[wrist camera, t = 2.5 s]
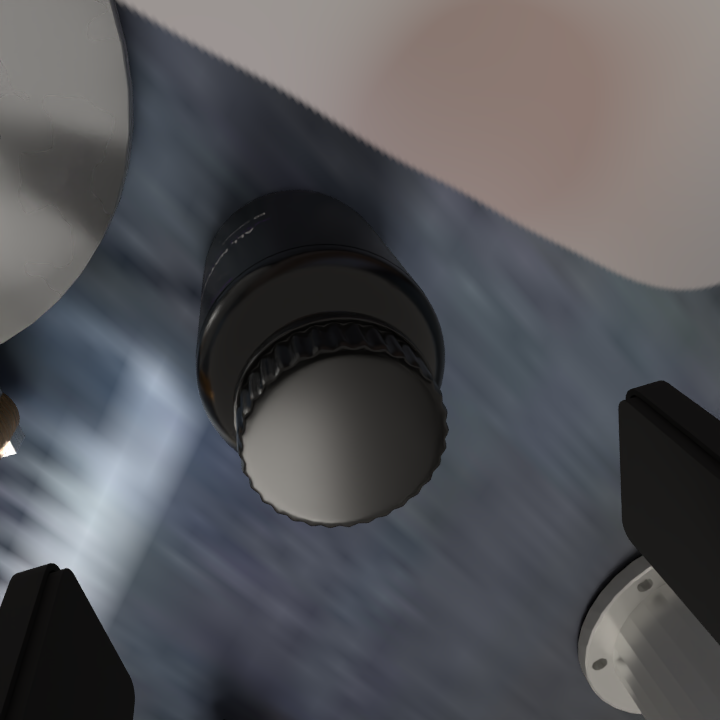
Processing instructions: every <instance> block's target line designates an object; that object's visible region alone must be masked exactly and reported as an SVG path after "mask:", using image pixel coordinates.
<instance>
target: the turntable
mask: <svg viewBox="0 0 720 720" xmlns="http://www.w3.org/2000/svg"><path fill="white" fill-rule="evenodd" d="M133 129H134V122H133V85H132V78H131V71H130V64H129V57H128V50H127V44H126V41H125V37H124V33H123V29H122V26H121V22H120V18H119V14H118V11H117V7H116V3H115V0H0V344H2V343H4V342H5V341H7V340H8V339H10V338H11V337H13V336H14V335H16V334H17V333H19V332H20V331H22V330H23V329H25V328H26V327H28V326H30V325H31V324H33V323H34V322H35V321H36V320H37V319H38V318H39V317H40V316H42V315H43V314H44V313H45V312H46V311H47V310H48V309H49V308H51V307H52V306H53V305H54V304H55V303H56V302H57V301H58V300H59V299H60V298H61V297H62V296H63V295H64V293H65V292H66V291H67V290H68V289H69V287H70V286H71V285H72V284H73V283H74V281H75V280H76V279H77V278H78V277H79V275H80V274H81V273H82V272H83V270H84V268H85V267H86V265H87V264H88V262H89V261H90V259H91V257H92V256H93V254H94V252H95V251H96V249H97V247H98V246H99V244H100V242H101V241H102V239H103V238H104V236H105V234H106V233H107V230H108V228H109V226H110V223H111V221H112V218H113V216H114V214H115V211H116V209H117V207H118V204H119V202H120V199H121V195H122V191H123V187H124V184H125V180H126V176H127V172H128V168H129V163H130V154H131V146H132V137H133ZM19 419H20V418H19V412H18V409H17V407H16V405H15V403H14V402H13V401H12V400H11V399H10V398H9V397H8V396H7V395H6V394H4V393H3V392H2V390H1V388H0V460H1V458H2V457H6V456H9V455H13V454H16V453H17V451H18V449H19V447H20V445H21V443H22V442H23V440H24V438H25V435H24V433H23V431H22V429H21V427H20V425H19Z"/></svg>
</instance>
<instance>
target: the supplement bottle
mask: <svg viewBox="0 0 720 720" xmlns="http://www.w3.org/2000/svg"><path fill="white" fill-rule="evenodd" d="M444 366H445V348H444V340H443V335H442V331H441V327H440V324H439V321H438V318H437V316H436V314H435V311H434V309H433V307H432V305H431V304H430V302H429V300H428V299H427V297H426V296H425V294H424V292H423V291H422V290H421V288H420V287H419V286H418V285H417V283H416V282H415V281H414V279H413V278H412V277H411V276H410V274H409V273H408V272H407V271H406V270H405V268H404V267H403V266H402V265H401V263H400V262H399V261H398V260H397V258H396V257H395V256H394V255H393V253H392V252H391V251H390V250H389V248H388V247H387V246H386V245H385V244H384V242H383V241H382V240H381V239H380V237H379V236H378V235H377V234H376V232H375V231H374V230H373V229H372V227H371V226H370V225H369V224H368V223H367V222H366V221H365V220H364V219H363V218H362V217H361V216H360V215H359V214H358V213H357V212H356V211H355V210H353V209H352V208H351V207H349V206H348V205H346V204H345V203H343V202H341V201H339V200H337V199H335V198H333V197H331V196H328V195H325V194H322V193H318V192H313V191H307V190H286V191H279V192H274V193H271V194H267V195H264V196H262V197H259V198H257V199H255V200H253V201H251V202H249V203H247V204H246V205H244V206H243V207H242V208H240V209H239V210H238V211H236V212H235V213H234V214H233V215H232V216H231V217H230V218H229V219H228V220H227V221H226V222H225V223H224V225H223V226H222V227H221V228H220V230H219V231H218V233H217V235H216V236H215V238H214V240H213V242H212V244H211V247H210V249H209V252H208V255H207V259H206V263H205V269H204V275H203V283H202V294H201V305H200V316H199V327H198V338H197V349H196V375H197V385H198V390H199V395H200V398H201V401H202V405H203V407H204V409H205V412H206V414H207V416H208V418H209V420H210V421H211V423H212V425H213V426H214V428H215V429H216V431H217V432H218V433H219V435H220V436H221V437H222V438H223V439H224V440H225V441H226V442H227V444H228V445H229V446H231V447H232V448H233V449H234V450H235V451H236V452H237V453H238V454H239V456H240V458H241V467H242V471H243V473H244V474H245V475H246V476H247V477H248V478H249V483H250V487H251V488H252V489H253V490H254V491H256V492H257V493H259V494H260V497H261V500H262V502H264V503H266V504H269V505H271V506H272V507H273V508H274V510H275V511H276V512H277V513H279V514H283V515H287V516H288V517H289V518H290V519H291V520H293V521H301V522H305V523H306V524H308V525H310V526H317V525H322V526H325V527H328V528H333V527H336V526H345V527H351V526H353V525H356V524H358V523H369V522H371V521H372V520H374V519H375V518H378V517H383V516H387V515H388V514H389V513H390V512H391V511H393V510H394V509H397V508H400V507H402V506H404V505H405V504H406V502H407V501H408V500H409V499H410V498H412V497H414V496H416V495H417V494H418V493H419V492H420V490H421V488H422V486H423V485H425V484H426V483H427V482H429V481H430V480H431V477H432V473H433V471H434V470H435V469H437V467H438V466H439V465H440V462H441V455H442V453H443V452H444V451H445V449H446V441H445V438H446V436H447V434H448V431H449V429H448V425H447V423H446V418H447V409H446V407H445V405H444V404H443V402H442V393H441V390H440V388H441V384H442V379H443V374H444Z"/></svg>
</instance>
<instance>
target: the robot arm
mask: <svg viewBox="0 0 720 720" xmlns="http://www.w3.org/2000/svg"><path fill="white" fill-rule="evenodd" d="M618 411H619V441H620V472H621V502H622V523H623V527H624V530H625V532H626V535H627V536H628V538H629V540H630V541H631V542H632V544H633V545H634V546H635V547H636V548H637V549H638V551H639V552H640V553H641V554H642V556H641V557H639V558H637V559H636V560H634V561H633V562H631V563H630V564H629V565H628V566H627V567H626V568H624V569H623V570H622V571H621V572H620V573H618V574H617V575H616V576H615V577H614V578H613V579H612V580H611V581H610V583H609V584H608V585H607V586H606V587H605V588H604V589H603V590H602V592H601V593H600V594H599V596H598V597H597V599H596V600H595V602H594V603H593V605H592V606H591V608H590V609H589V612H588V614H587V616H586V618H585V621H584V623H583V625H582V628H581V632H580V637H579V642H578V659H579V663H580V666H581V669H582V672H583V674H584V676H585V677H586V679H587V681H588V682H589V684H590V686H591V688H592V689H593V691H594V692H595V693H596V694H597V695H598V696H599V697H600V698H601V700H602V701H604V702H606V703H607V704H609V705H611V706H612V707H614V708H617V709H620V710H623V711H626V712H630V713H638V714H643V716H644V717H645V719H646V720H720V421H719V420H718V419H717V418H715V417H714V416H713V415H711V414H710V413H708V412H707V411H706V410H704V409H703V408H702V407H700V406H699V405H698V404H696V403H695V402H693V401H692V400H691V399H689V398H688V397H687V396H685V395H684V394H682V393H681V392H680V391H678V390H677V389H676V388H674V387H673V386H671V385H670V384H669V383H667V382H665V381H657V382H653V383H650V384H647V385H643V386H640V387H637V388H633V389H630V390H629V391H628V392H627V394H626V400H623V401H621V402H620V404H619V409H618ZM134 704H135V694H134V687H133V683H132V680H131V678H130V676H129V674H128V672H127V670H126V668H125V667H124V665H123V663H122V661H121V659H120V657H119V656H118V654H117V652H116V650H115V648H114V646H113V645H112V643H111V641H110V639H109V637H108V636H107V634H106V632H105V630H104V628H103V626H102V625H101V623H100V621H99V619H98V617H97V616H96V614H95V612H94V610H93V608H92V606H91V605H90V603H89V601H88V599H87V597H86V596H85V594H84V592H83V590H82V588H81V586H80V585H79V583H78V581H77V579H76V577H75V575H74V574H73V572H72V571H71V570H70V569H68V568H65V569H62V570H60V569H59V567H58V566H57V565H55V564H53V563H50V564H47V565H43V566H40V567H36V568H33V569H30V570H26V571H23V572H20V573H16V574H15V575H14V576H13V577H12V578H11V580H10V582H9V585H8V588H7V591H6V593H5V596H4V599H3V601H2V604H1V607H0V720H133V713H134Z"/></svg>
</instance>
